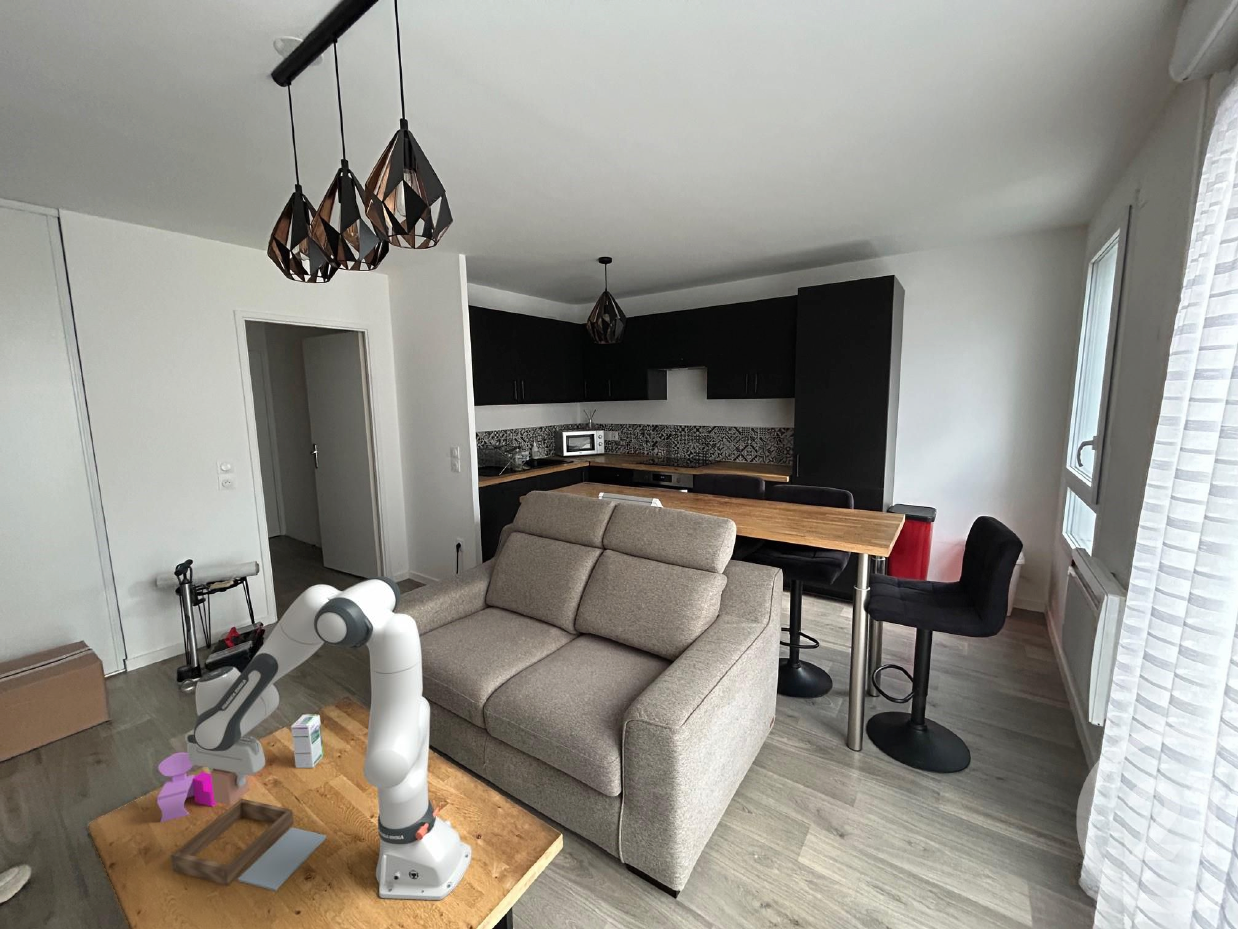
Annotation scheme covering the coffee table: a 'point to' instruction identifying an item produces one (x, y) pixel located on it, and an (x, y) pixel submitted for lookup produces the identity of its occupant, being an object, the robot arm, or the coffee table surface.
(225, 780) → the block
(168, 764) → the toy chair
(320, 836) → the mat
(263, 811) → the wooden frame
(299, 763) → the syrup box
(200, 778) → the magenta arched bracket
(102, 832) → the coffee table surface
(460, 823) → the coffee table surface
